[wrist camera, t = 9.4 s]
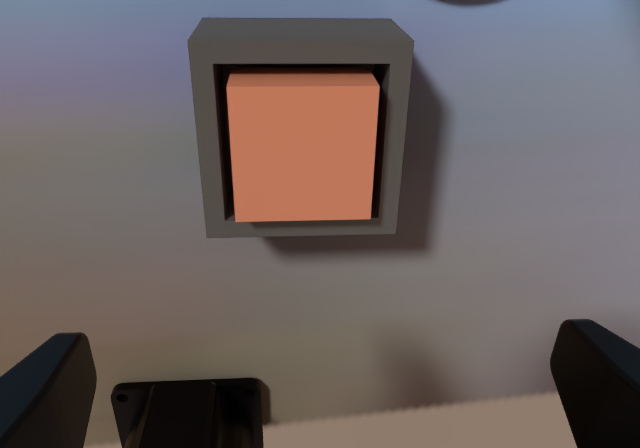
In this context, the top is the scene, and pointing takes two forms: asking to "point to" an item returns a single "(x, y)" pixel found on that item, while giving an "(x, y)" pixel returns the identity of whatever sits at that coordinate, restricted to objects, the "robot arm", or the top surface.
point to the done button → (302, 143)
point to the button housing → (298, 52)
